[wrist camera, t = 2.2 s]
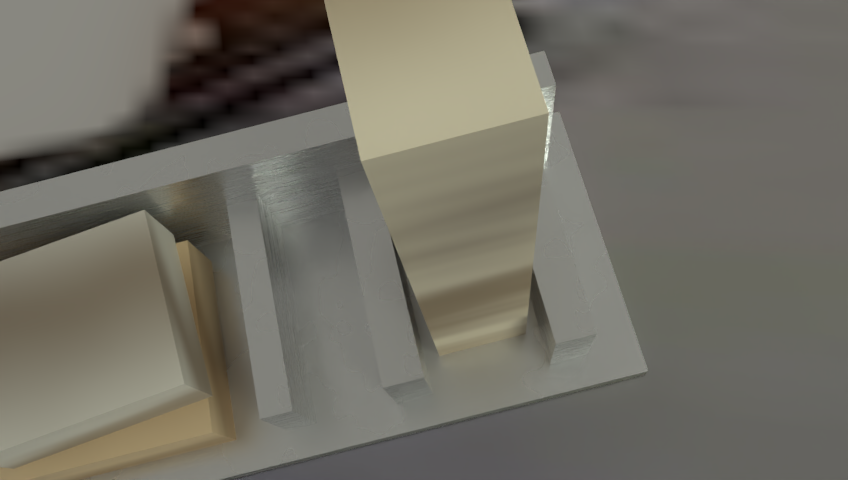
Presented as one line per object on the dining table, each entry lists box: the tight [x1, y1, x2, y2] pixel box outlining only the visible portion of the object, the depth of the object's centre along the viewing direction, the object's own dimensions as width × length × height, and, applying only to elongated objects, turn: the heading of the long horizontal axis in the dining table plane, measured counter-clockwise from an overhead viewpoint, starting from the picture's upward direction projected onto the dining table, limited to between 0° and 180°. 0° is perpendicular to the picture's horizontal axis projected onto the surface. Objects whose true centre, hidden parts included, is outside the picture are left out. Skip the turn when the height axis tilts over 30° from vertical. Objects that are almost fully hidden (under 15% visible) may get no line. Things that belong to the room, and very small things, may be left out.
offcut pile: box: [0, 210, 236, 480], centre depth 20 cm, size 6×6×4 cm
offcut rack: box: [0, 51, 648, 480], centre depth 20 cm, size 8×18×5 cm, turn 103°
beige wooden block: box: [324, 0, 549, 356], centre depth 16 cm, size 4×2×12 cm, turn 13°
